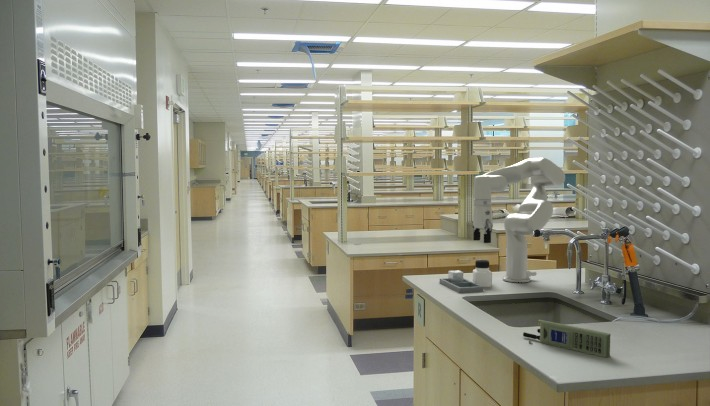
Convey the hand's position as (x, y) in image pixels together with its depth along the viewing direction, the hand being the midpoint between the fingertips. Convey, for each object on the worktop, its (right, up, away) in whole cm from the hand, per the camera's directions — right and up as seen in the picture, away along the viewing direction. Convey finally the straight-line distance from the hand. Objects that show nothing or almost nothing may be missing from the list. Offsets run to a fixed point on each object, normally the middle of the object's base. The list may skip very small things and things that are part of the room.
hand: (481, 241), depth 233 cm
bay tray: (-10, -21, -2) cm, 23 cm away
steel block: (-11, -20, +2) cm, 23 cm away
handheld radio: (+4, -25, -81) cm, 85 cm away
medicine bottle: (0, -21, +1) cm, 21 cm away
